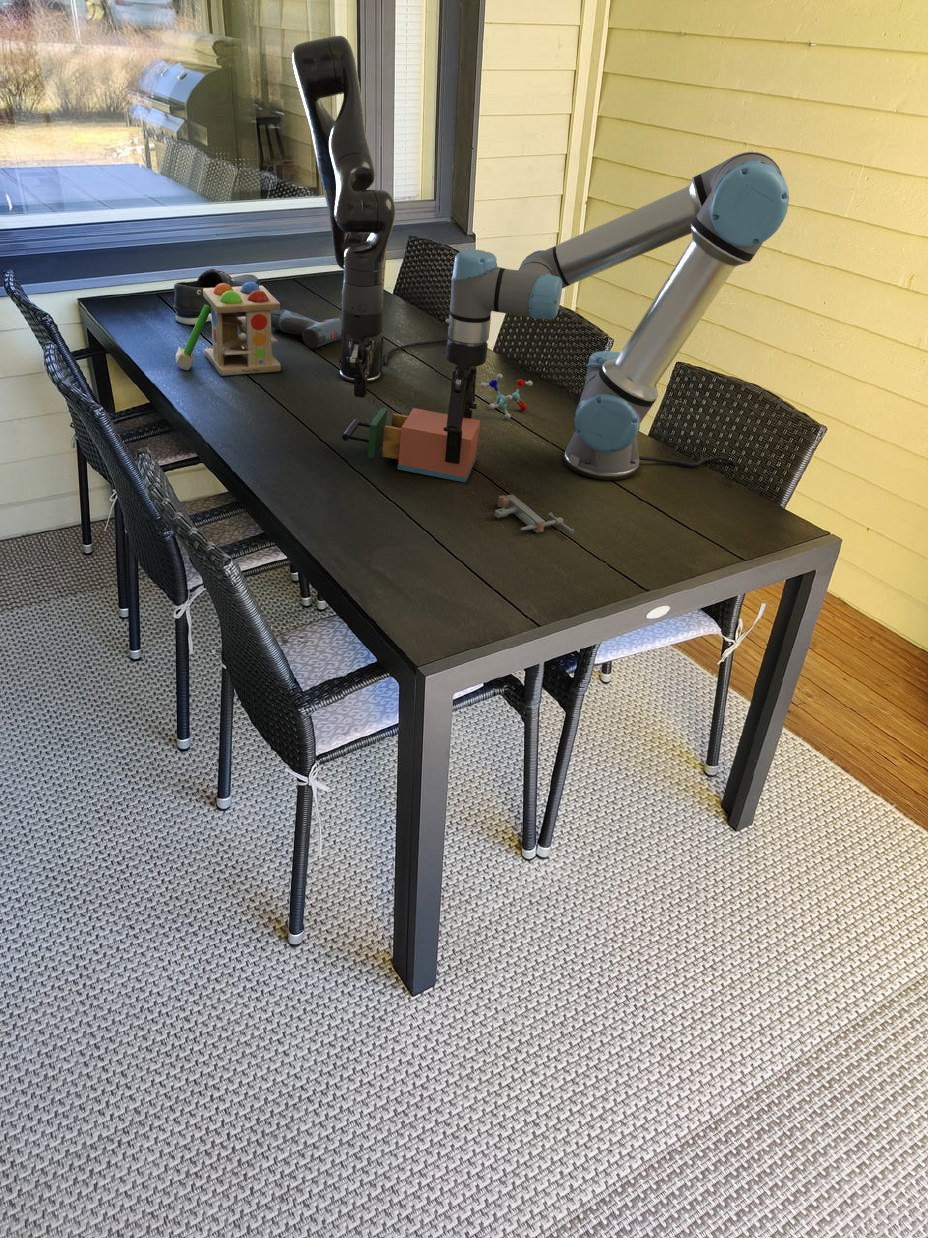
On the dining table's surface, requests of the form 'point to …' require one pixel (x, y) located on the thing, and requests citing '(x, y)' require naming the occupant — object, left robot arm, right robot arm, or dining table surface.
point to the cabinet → (436, 446)
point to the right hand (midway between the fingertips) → (457, 451)
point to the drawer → (380, 434)
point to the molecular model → (501, 397)
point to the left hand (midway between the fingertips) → (360, 395)
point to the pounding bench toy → (229, 347)
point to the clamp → (526, 514)
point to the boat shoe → (191, 293)
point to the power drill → (307, 327)
